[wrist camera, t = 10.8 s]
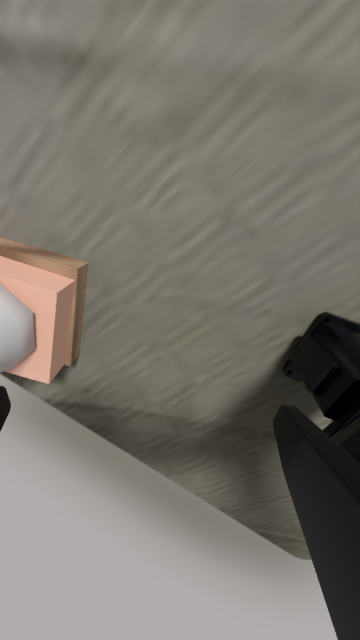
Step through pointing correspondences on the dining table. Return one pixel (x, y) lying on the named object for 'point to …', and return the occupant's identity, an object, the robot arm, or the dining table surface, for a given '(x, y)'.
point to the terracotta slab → (41, 316)
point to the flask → (14, 330)
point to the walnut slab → (61, 267)
